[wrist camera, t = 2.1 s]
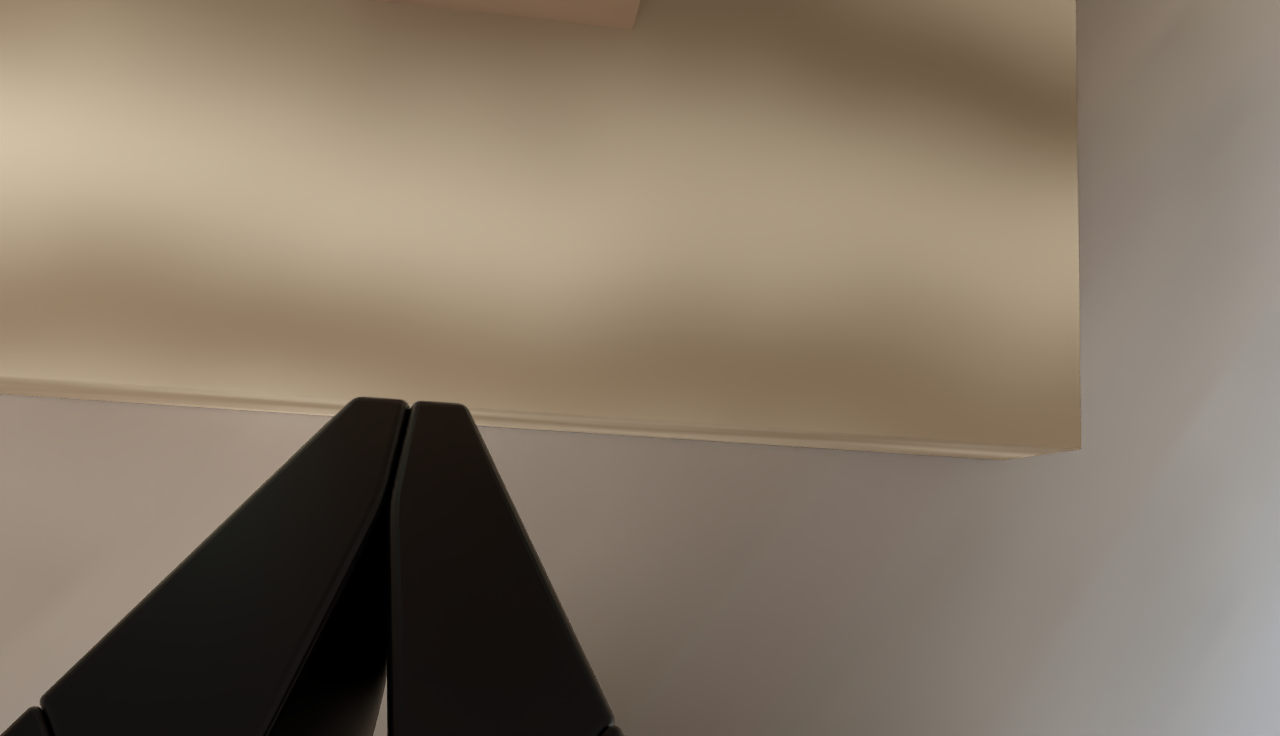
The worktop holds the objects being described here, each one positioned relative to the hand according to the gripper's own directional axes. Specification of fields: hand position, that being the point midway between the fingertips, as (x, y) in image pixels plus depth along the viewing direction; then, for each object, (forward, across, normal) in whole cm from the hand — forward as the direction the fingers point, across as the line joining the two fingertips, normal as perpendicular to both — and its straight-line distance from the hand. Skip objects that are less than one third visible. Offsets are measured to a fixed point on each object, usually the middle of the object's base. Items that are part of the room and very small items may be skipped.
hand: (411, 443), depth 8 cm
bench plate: (+15, 0, +3) cm, 15 cm away
